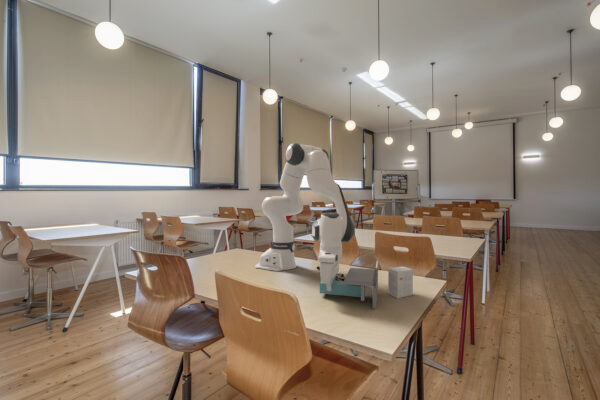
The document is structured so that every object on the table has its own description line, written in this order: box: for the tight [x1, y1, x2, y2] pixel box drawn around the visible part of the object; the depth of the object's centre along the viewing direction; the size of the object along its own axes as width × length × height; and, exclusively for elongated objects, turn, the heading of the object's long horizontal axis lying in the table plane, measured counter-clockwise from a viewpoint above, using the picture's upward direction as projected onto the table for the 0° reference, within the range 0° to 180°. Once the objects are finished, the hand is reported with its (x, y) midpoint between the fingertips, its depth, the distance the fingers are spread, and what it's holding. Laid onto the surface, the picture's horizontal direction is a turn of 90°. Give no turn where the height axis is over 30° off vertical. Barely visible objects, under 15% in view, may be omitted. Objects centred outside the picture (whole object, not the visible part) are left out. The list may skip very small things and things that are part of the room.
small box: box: [387, 265, 414, 299], centre depth 119 cm, size 8×6×10 cm
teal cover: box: [319, 280, 361, 298], centre depth 117 cm, size 16×5×4 cm, turn 73°
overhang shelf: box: [344, 267, 379, 310], centre depth 115 cm, size 11×18×10 cm, turn 163°
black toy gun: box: [316, 265, 346, 281], centre depth 148 cm, size 27×2×10 cm
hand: (330, 287), depth 118 cm, fingers closed on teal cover, 5 cm apart
